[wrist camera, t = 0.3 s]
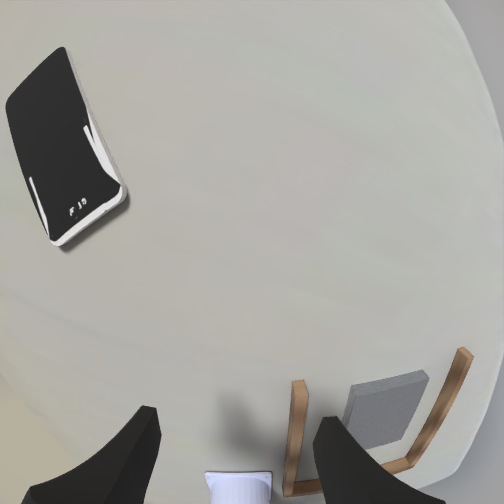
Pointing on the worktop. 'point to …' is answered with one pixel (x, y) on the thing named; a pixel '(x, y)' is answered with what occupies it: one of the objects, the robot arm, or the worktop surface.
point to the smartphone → (62, 149)
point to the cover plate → (383, 408)
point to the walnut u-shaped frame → (421, 443)
